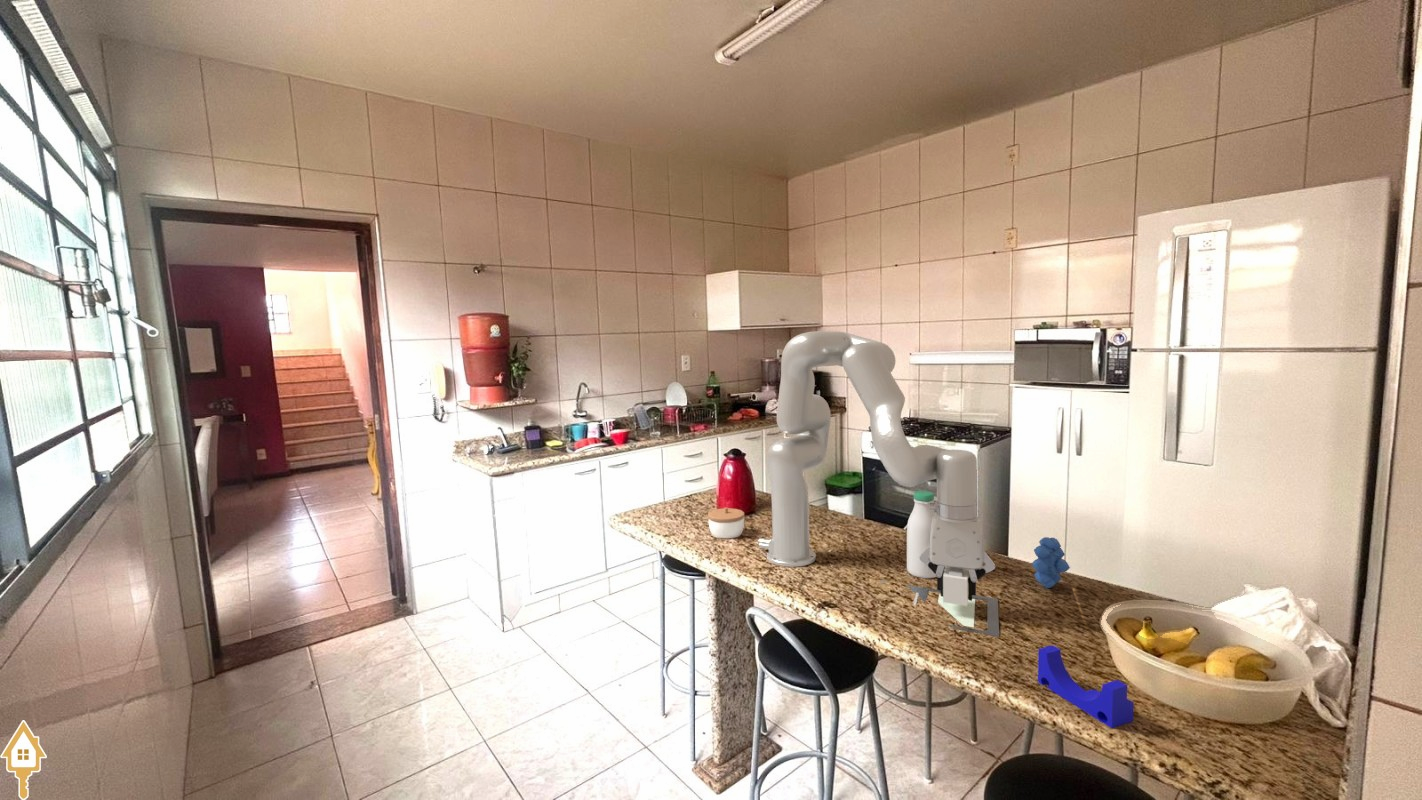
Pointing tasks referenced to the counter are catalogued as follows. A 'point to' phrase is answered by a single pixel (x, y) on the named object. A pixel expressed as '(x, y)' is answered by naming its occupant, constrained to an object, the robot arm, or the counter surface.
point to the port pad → (960, 611)
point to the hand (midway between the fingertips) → (956, 595)
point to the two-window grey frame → (991, 602)
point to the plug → (955, 585)
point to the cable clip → (1101, 705)
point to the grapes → (1049, 562)
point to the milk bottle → (919, 534)
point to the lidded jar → (726, 522)
